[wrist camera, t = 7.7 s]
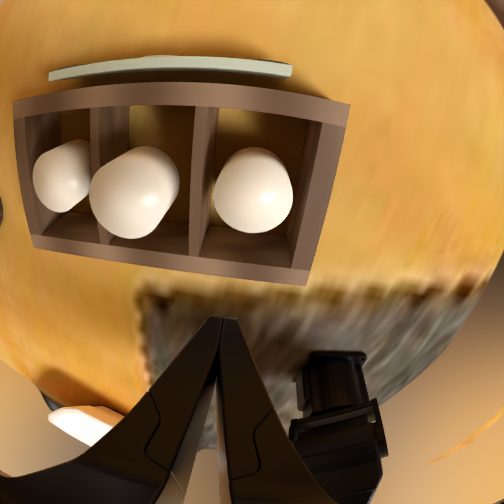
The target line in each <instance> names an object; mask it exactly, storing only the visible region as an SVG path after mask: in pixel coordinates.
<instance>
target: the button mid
mask: <svg viewBox="0 0 504 504" xmlns="http://www.w3.org/2000/svg"><path fill="white" fill-rule="evenodd" d="M179 188H180V177H179V172H178V169H177V167H176V165H175V163H174V162H173V160H172V159H171V158H170V157H169V156H168V155H167V154H166V153H165V152H163V151H161V150H160V149H157V148H155V147H151V146H139V147H135V148H133V149H131V150H129V151H127V152H125V153H124V154H122V155H120V156H119V157H117V158H115V159H114V160H112V161H110V162H109V163H107V164H106V165H104V166H103V167H101V168H100V169H99V170H98V171H97V172H96V174H95V175H94V177H93V179H92V181H91V184H90V188H89V200H90V205H91V208H92V211H93V213H94V215H95V217H96V218H97V220H98V221H99V223H100V224H101V225H102V226H103V227H104V228H105V229H107V230H108V231H109V232H111V233H113V234H114V235H117V236H119V237H122V238H128V239H135V238H141V237H143V236H146V235H148V234H149V233H150V232H152V231H153V230H154V229H155V228H156V226H157V225H158V224H159V222H160V221H161V219H162V218H163V216H164V215H165V213H166V212H167V210H168V209H169V207H170V206H171V205H172V203H173V202H174V200H175V199H176V197H177V195H178V192H179Z"/></svg>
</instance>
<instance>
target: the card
mask: <svg viewBox="0 0 504 504" xmlns="http://www.w3.org/2000/svg"><path fill="white" fill-rule="evenodd" d="M164 70H192V71H217V72H231V73H242V74H252V75H261V76H268V77H275V78H282V79H287V78H289V77H291V72H292V65H290V64H287V63H283V62H278V61H272V60H263V59H251V60H249V59H238V58H225V57H203V56H174V55H152V56H144V57H142V58H133V59H123V60H114V61H106V62H99V63H93V64H83V65H74V66H68V67H64V68H60V69H59V70H57V71H53V72H49V79H48V82H49V81H57V80H65V79H76V78H84V77H90V76H98V75H106V74H115V73H126V72H140V71H164Z"/></svg>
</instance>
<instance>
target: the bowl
mask: <svg viewBox="0 0 504 504" xmlns="http://www.w3.org/2000/svg"><path fill="white" fill-rule="evenodd" d="M124 417H125V416H123V415H121V414H119V413H117V412H115V411H113V410H111V409H109V408H107V407H104V406H94V407H92V406H73V407H62V408H60V409H58V410H55V411H53V412H52V413H50V414H48V420H49V421H50V422H51V423H53V424H54V425H56V426H57V427H58V428H60V429H61V430H63V431H64V432H66V433H68V434H69V435H71V436H73V437H75V438H76V439H78V440H80V441H82V442H84V443H85V444H87V445H89V446H93V445H94V444H95V443H96V442H97V441H98V440H99V439H101V438H102V437H103V436H104V435H105V434H106V433H107V432H108V431H110V430H111V429H112V428H113V427H114V426H115V425H116V424H117V423H118V422H119V421H120V420H121V419H123V418H124Z"/></svg>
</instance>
